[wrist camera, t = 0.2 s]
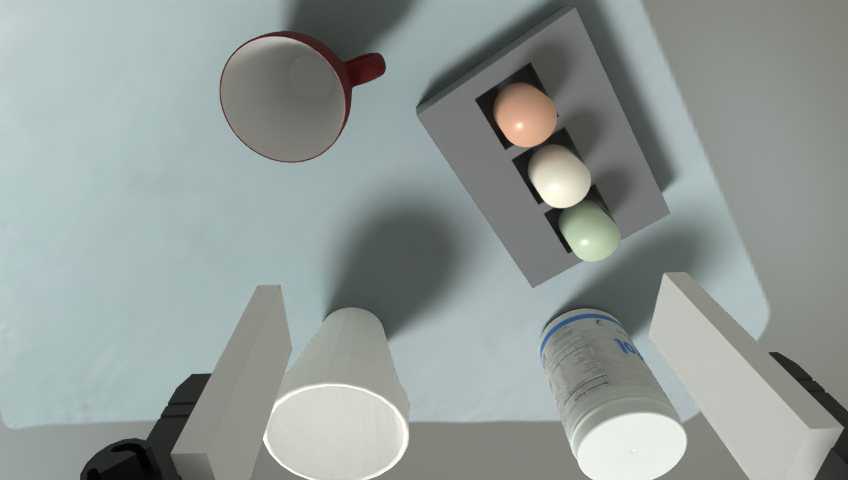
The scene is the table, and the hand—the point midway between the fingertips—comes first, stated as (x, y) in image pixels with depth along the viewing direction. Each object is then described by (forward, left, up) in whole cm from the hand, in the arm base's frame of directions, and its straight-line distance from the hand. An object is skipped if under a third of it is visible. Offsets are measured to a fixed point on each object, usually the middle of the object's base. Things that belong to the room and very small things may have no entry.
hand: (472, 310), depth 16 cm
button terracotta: (-2, +7, -25) cm, 26 cm away
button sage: (+8, +13, -25) cm, 29 cm away
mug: (-4, -9, -28) cm, 30 cm away
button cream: (+3, +10, -25) cm, 27 cm away
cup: (+23, -8, -28) cm, 37 cm away
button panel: (+3, +10, -28) cm, 30 cm away
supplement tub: (+24, +17, -28) cm, 41 cm away
